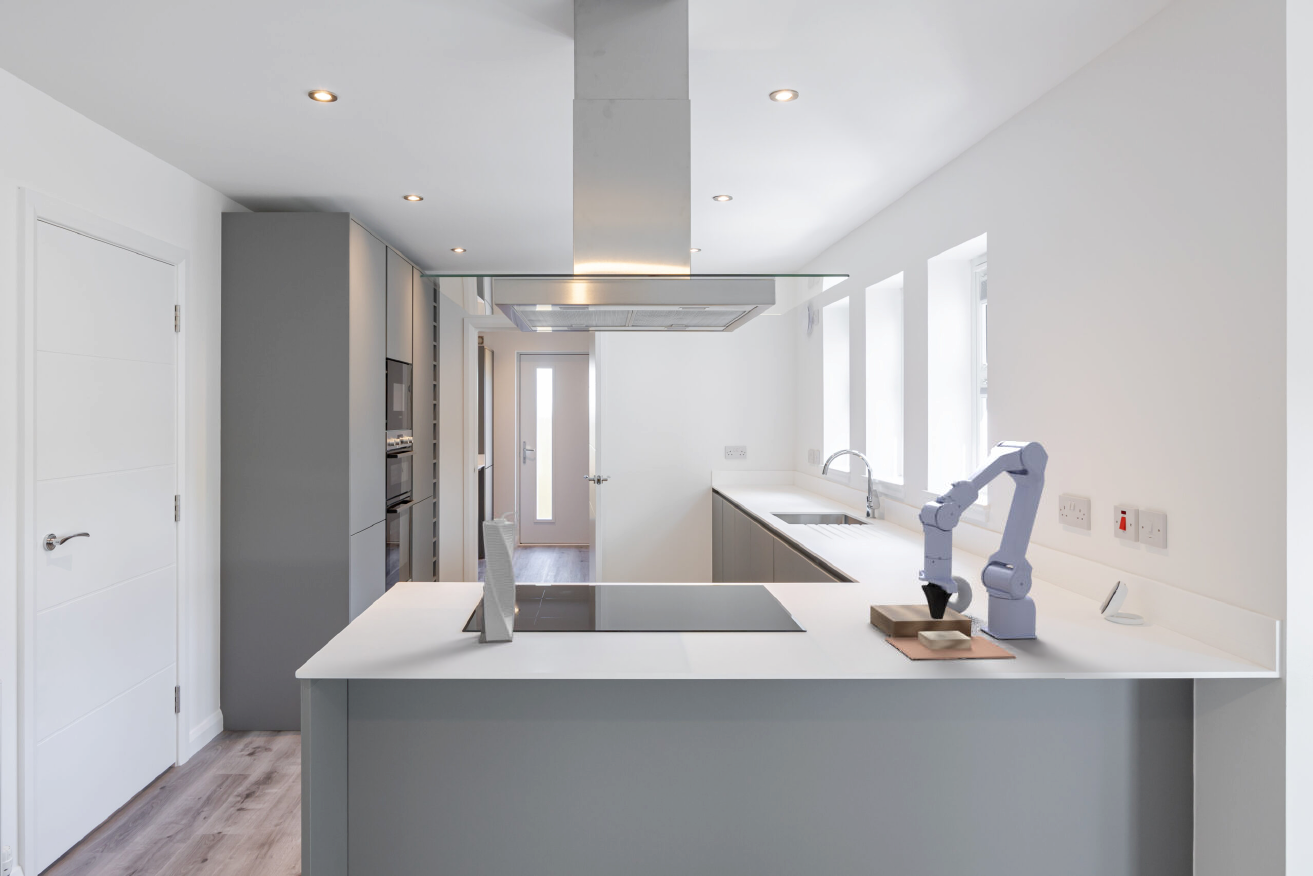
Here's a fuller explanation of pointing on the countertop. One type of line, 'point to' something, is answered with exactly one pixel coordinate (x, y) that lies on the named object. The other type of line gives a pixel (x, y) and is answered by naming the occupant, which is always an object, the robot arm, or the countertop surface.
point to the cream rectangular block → (944, 640)
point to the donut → (961, 595)
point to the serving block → (916, 620)
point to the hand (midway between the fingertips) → (936, 618)
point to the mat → (977, 650)
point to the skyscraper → (498, 581)
